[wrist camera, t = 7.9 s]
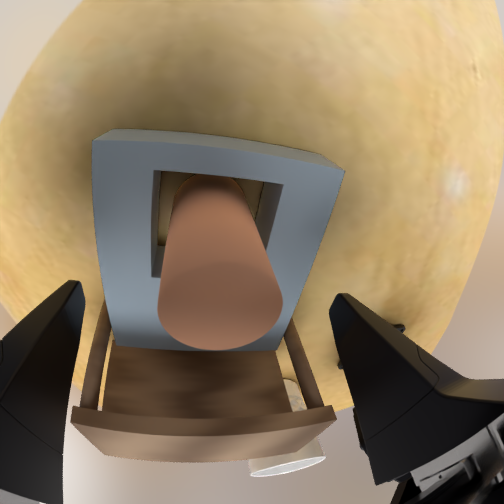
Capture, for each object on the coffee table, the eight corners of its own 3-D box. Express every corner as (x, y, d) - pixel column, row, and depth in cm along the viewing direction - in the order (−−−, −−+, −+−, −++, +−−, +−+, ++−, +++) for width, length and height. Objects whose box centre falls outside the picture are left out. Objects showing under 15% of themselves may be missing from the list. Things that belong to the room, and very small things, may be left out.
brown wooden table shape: (291, 301, 20) (337, 419, 12) (269, 355, 24) (296, 452, 16) (101, 292, 17) (70, 422, 9) (115, 350, 20) (104, 454, 13)
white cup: (235, 408, 30) (248, 479, 22) (235, 380, 26) (252, 469, 18) (295, 399, 32) (315, 465, 24) (307, 370, 27) (335, 450, 19)
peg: (251, 176, 14) (298, 266, 8) (238, 239, 16) (266, 349, 10) (177, 168, 13) (155, 256, 7) (171, 234, 15) (159, 348, 9)
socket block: (320, 154, 14) (345, 170, 12) (268, 319, 21) (276, 350, 19) (113, 128, 11) (92, 140, 9) (122, 313, 18) (116, 345, 16)
